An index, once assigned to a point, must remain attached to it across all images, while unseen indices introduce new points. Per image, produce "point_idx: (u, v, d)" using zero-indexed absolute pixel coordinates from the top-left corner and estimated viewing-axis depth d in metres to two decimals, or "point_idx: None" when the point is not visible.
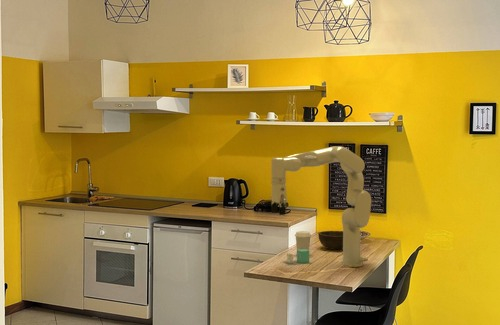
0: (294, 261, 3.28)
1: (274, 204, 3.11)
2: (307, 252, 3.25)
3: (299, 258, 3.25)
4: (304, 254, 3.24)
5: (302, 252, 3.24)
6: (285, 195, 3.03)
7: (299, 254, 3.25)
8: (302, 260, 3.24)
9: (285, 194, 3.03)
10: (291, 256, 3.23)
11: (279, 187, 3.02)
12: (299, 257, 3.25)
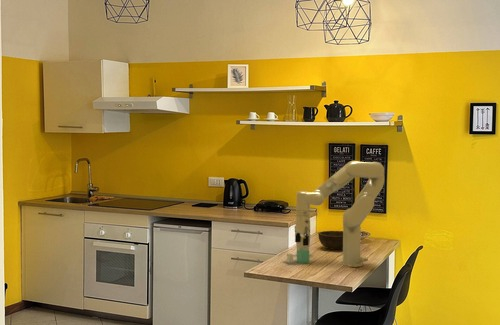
0: (294, 261, 3.28)
1: (298, 234, 3.31)
2: (307, 252, 3.25)
3: (299, 258, 3.25)
4: (304, 254, 3.24)
5: (302, 252, 3.24)
6: (309, 227, 3.22)
7: (299, 254, 3.25)
8: (302, 260, 3.24)
9: (309, 226, 3.22)
10: (291, 256, 3.23)
11: (303, 219, 3.21)
12: (299, 257, 3.25)
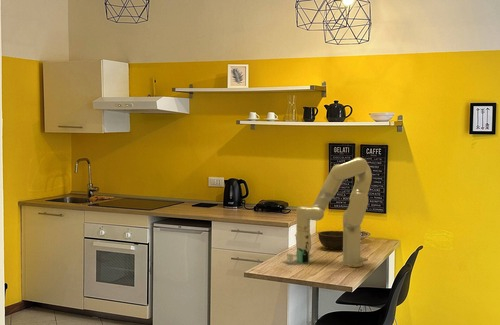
0: (294, 261, 3.28)
1: None
2: None
3: (299, 258, 3.25)
4: None
5: (302, 252, 3.24)
6: (309, 242, 3.22)
7: (299, 254, 3.25)
8: (302, 260, 3.24)
9: (309, 241, 3.22)
10: (291, 256, 3.23)
11: (304, 235, 3.22)
12: (299, 257, 3.25)
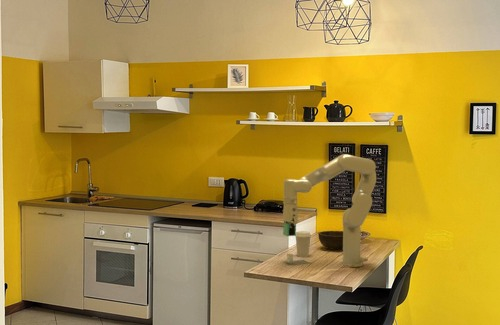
0: (294, 261, 3.28)
1: None
2: None
3: (285, 231, 3.22)
4: None
5: (289, 225, 3.20)
6: (296, 215, 3.19)
7: (286, 227, 3.21)
8: (288, 233, 3.20)
9: (296, 214, 3.19)
10: (291, 256, 3.23)
11: (291, 207, 3.18)
12: (285, 230, 3.21)
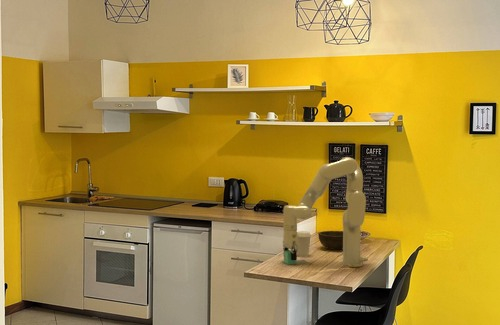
0: None
1: (286, 249, 3.28)
2: None
3: (286, 259, 3.22)
4: None
5: (289, 253, 3.21)
6: (296, 241, 3.19)
7: (286, 255, 3.22)
8: (289, 261, 3.21)
9: (296, 240, 3.20)
10: None
11: (291, 234, 3.19)
12: (286, 258, 3.22)
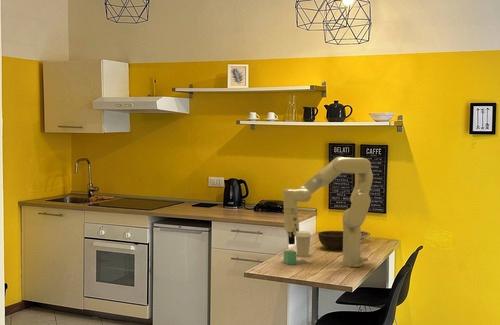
0: None
1: None
2: (294, 253, 3.22)
3: (286, 259, 3.22)
4: (291, 255, 3.21)
5: (289, 253, 3.21)
6: (297, 224, 3.19)
7: (286, 255, 3.22)
8: (289, 261, 3.21)
9: (297, 223, 3.19)
10: None
11: (291, 217, 3.18)
12: (286, 258, 3.22)
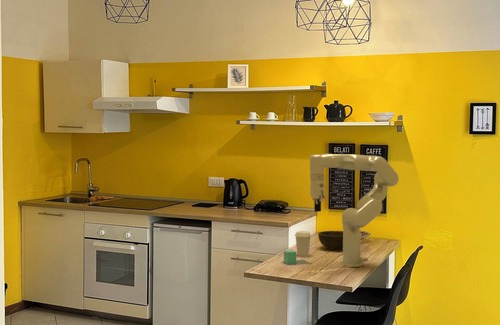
0: None
1: None
2: (294, 253, 3.22)
3: (286, 259, 3.22)
4: (291, 255, 3.21)
5: (289, 253, 3.21)
6: (324, 191, 3.12)
7: (286, 255, 3.22)
8: (289, 261, 3.21)
9: (324, 190, 3.12)
10: None
11: (318, 183, 3.11)
12: (286, 258, 3.22)
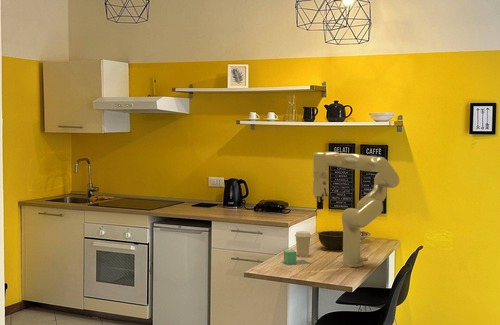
0: None
1: None
2: (294, 253, 3.22)
3: (286, 259, 3.22)
4: (291, 255, 3.21)
5: (289, 253, 3.21)
6: (327, 189, 3.11)
7: (286, 255, 3.22)
8: (289, 261, 3.21)
9: (327, 188, 3.12)
10: None
11: (321, 181, 3.11)
12: (286, 258, 3.22)
